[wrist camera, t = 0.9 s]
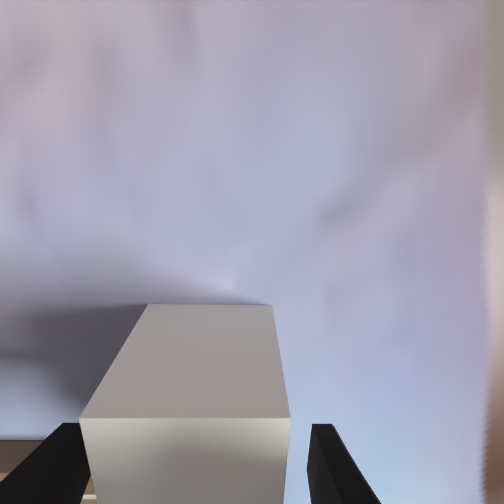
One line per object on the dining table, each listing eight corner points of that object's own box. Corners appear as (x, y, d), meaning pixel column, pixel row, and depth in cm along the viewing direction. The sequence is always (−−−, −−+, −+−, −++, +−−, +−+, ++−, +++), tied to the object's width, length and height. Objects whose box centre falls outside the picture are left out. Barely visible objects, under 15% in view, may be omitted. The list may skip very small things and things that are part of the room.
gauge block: (265, 420, 15) (277, 572, 9) (161, 420, 14) (113, 575, 9) (271, 304, 12) (290, 418, 7) (148, 302, 12) (78, 418, 7)
